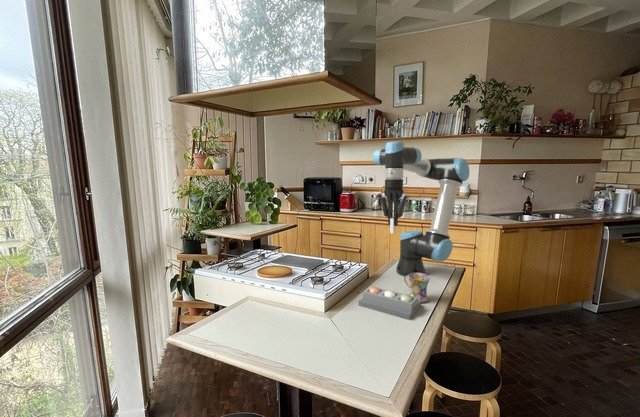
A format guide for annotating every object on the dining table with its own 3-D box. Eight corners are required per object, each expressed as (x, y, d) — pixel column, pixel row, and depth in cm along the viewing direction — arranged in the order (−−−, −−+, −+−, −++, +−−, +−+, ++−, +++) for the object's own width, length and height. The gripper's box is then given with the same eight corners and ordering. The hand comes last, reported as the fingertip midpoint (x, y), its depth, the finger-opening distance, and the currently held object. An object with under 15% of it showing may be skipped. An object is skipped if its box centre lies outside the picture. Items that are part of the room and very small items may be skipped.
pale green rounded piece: (402, 301, 128) (402, 293, 127) (413, 304, 125) (413, 296, 125) (398, 305, 124) (398, 297, 124) (409, 308, 122) (409, 299, 121)
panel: (373, 294, 141) (373, 283, 141) (421, 306, 129) (421, 294, 128) (358, 305, 130) (358, 294, 129) (409, 319, 117) (409, 307, 117)
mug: (433, 299, 135) (434, 276, 133) (421, 306, 129) (422, 281, 127) (409, 291, 144) (410, 269, 142) (397, 297, 138) (398, 274, 136)
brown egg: (372, 293, 136) (372, 286, 136) (381, 296, 134) (381, 288, 133) (367, 297, 133) (367, 289, 132) (377, 299, 130) (377, 291, 130)
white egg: (387, 297, 132) (387, 289, 132) (396, 300, 129) (396, 292, 129) (382, 301, 128) (382, 293, 128) (392, 303, 126) (392, 295, 125)
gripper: (376, 178, 132) (375, 232, 135) (405, 179, 124) (404, 236, 127) (383, 178, 138) (382, 229, 141) (412, 178, 130) (410, 232, 134)
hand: (392, 232), depth 134 cm, fingers closed
